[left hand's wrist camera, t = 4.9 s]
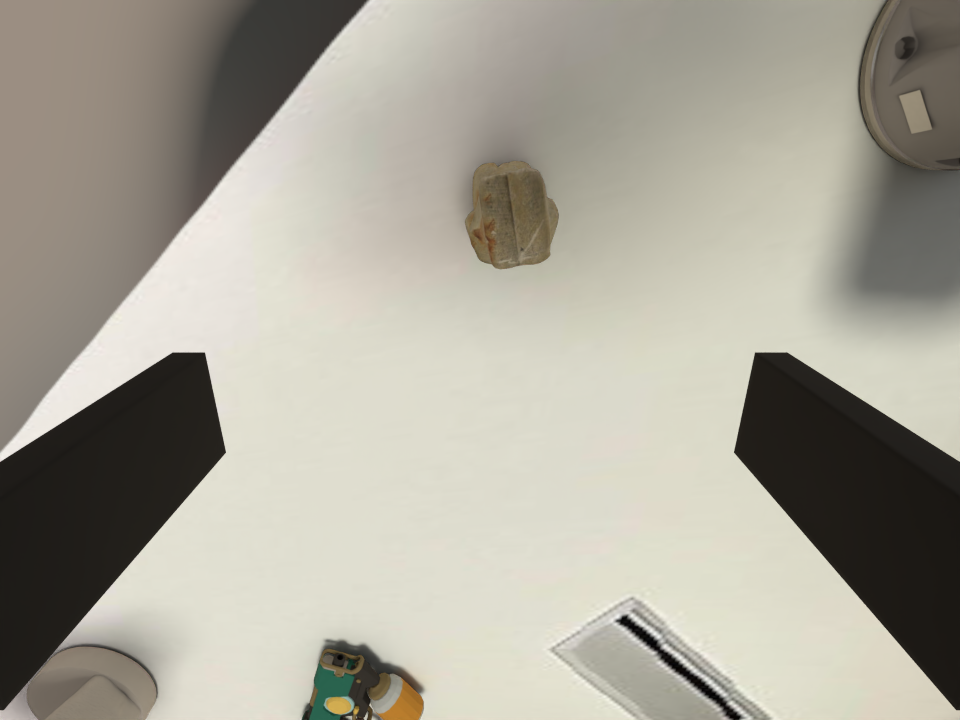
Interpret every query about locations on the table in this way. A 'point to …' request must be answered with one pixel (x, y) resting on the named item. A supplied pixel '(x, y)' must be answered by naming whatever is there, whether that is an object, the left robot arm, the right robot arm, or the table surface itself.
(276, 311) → the table surface
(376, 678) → the spray gun
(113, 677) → the bust sculpture
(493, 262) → the sculpture
